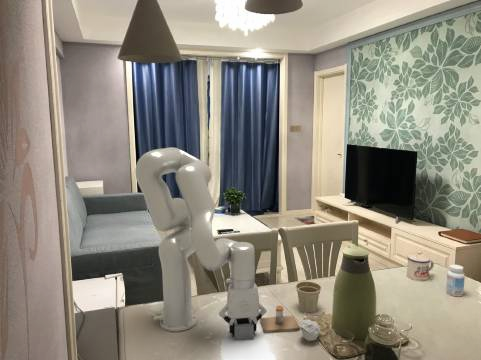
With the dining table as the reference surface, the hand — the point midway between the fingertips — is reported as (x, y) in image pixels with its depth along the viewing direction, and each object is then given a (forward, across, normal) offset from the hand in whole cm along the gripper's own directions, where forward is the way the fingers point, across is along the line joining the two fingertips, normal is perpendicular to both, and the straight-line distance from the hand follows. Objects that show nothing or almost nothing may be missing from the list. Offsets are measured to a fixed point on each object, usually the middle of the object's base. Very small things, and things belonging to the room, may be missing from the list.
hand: (242, 333), depth 128 cm
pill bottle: (+1, +87, +18) cm, 89 cm away
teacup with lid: (+1, +83, +35) cm, 90 cm away
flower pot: (+1, +26, +14) cm, 30 cm away
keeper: (+1, +13, +4) cm, 14 cm away
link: (+1, 0, 0) cm, 1 cm away
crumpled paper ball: (+1, +20, -6) cm, 21 cm away
